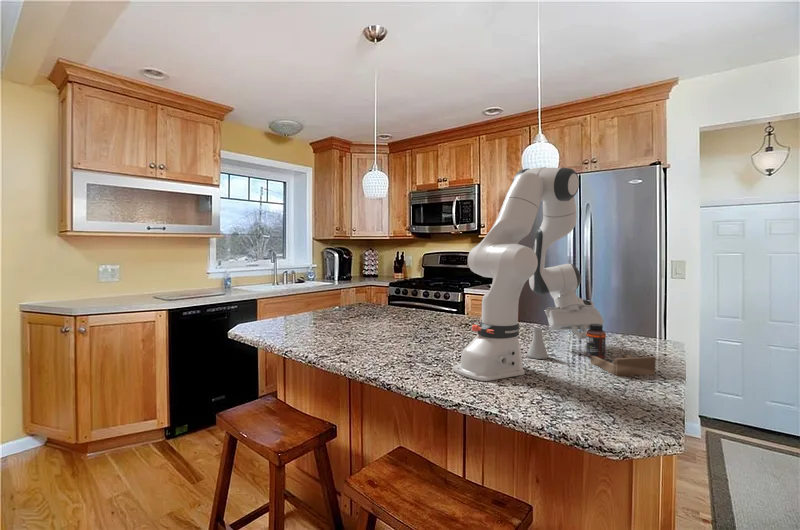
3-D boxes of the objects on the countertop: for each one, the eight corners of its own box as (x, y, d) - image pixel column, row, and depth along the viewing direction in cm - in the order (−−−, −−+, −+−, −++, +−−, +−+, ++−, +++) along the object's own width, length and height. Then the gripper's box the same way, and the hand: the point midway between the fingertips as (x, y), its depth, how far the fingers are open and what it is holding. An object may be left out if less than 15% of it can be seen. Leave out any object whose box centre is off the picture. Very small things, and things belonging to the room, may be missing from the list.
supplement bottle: (604, 355, 138) (605, 323, 137) (605, 360, 133) (606, 326, 132) (585, 353, 141) (586, 322, 140) (586, 358, 135) (586, 325, 134)
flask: (550, 360, 133) (550, 330, 132) (527, 359, 134) (528, 329, 134) (546, 354, 140) (547, 326, 139) (525, 353, 141) (525, 325, 141)
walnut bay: (590, 363, 129) (591, 348, 129) (625, 361, 131) (625, 346, 131) (616, 376, 117) (617, 359, 116) (654, 374, 118) (655, 357, 118)
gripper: (546, 302, 149) (559, 334, 140) (596, 301, 152) (613, 332, 142) (540, 312, 154) (553, 343, 144) (589, 311, 156) (604, 341, 147)
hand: (583, 338), depth 143 cm, fingers closed
